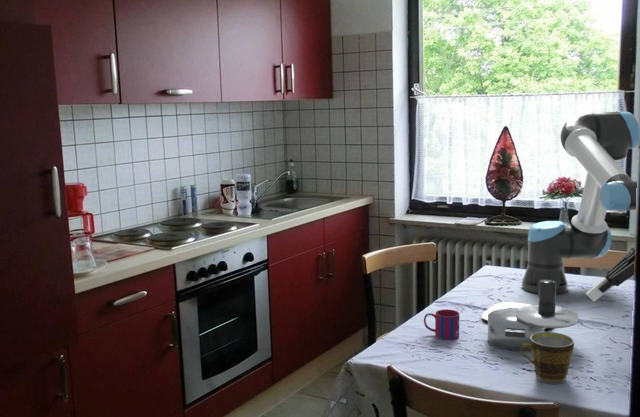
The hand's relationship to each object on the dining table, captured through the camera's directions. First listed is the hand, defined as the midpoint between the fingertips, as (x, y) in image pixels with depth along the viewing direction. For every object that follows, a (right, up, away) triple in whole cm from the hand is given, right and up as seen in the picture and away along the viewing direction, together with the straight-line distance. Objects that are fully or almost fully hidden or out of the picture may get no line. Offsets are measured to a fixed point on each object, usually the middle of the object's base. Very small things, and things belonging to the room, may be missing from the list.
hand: (590, 297), depth 177 cm
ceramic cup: (-18, -18, -17) cm, 30 cm away
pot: (-17, -13, +8) cm, 23 cm away
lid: (-10, -6, +5) cm, 13 cm away
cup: (-37, -13, +15) cm, 42 cm away
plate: (-10, -11, +27) cm, 31 cm away
